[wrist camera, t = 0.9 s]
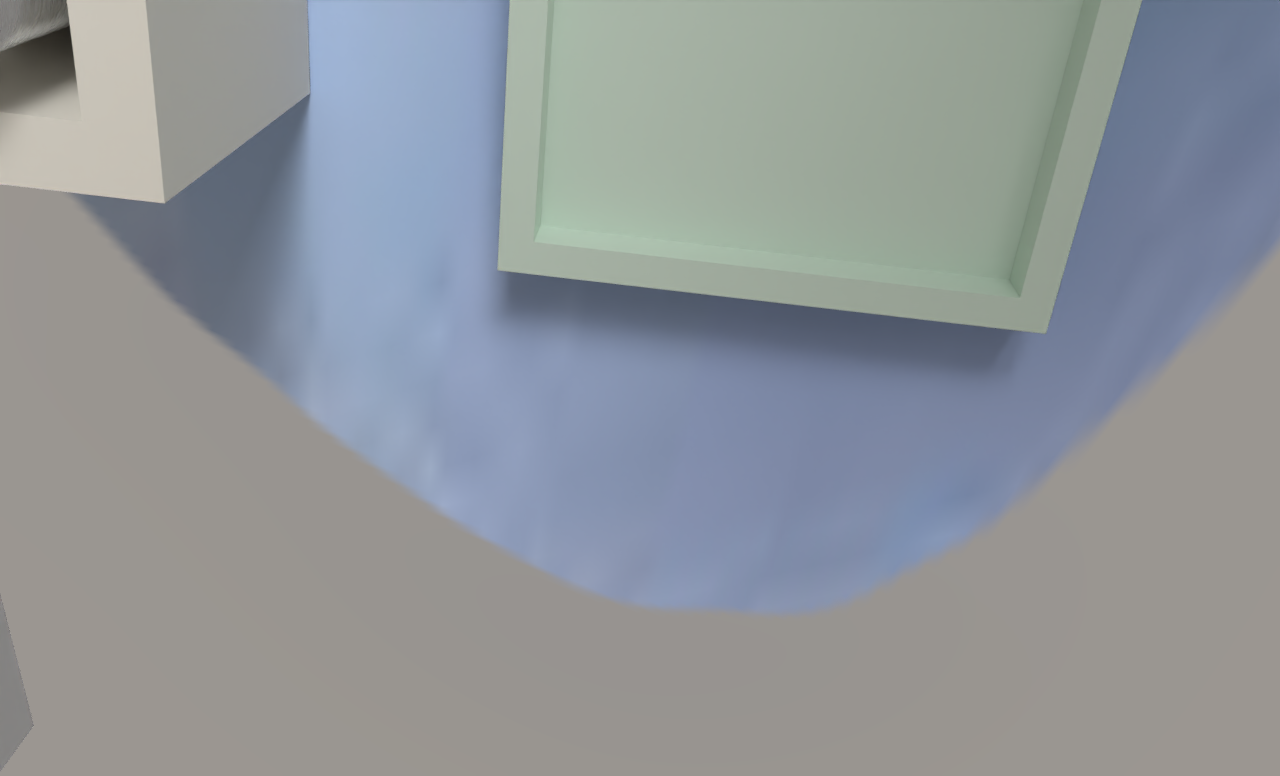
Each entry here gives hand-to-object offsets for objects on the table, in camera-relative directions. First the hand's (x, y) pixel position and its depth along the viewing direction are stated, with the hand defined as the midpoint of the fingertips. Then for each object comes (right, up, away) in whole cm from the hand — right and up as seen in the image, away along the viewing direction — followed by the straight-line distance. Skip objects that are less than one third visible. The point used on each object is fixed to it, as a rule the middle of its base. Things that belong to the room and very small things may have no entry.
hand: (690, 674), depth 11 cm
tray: (+4, +13, +21) cm, 25 cm away
